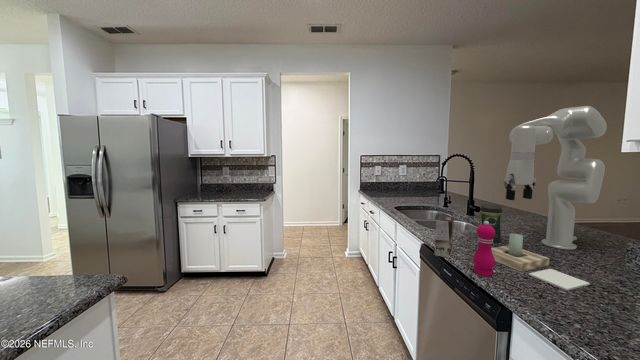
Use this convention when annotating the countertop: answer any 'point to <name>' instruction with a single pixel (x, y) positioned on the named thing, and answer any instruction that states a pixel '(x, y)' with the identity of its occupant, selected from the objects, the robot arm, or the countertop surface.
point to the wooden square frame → (519, 259)
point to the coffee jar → (492, 218)
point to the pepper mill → (484, 250)
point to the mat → (559, 279)
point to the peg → (515, 245)
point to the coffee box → (444, 236)
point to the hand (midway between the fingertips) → (518, 199)
